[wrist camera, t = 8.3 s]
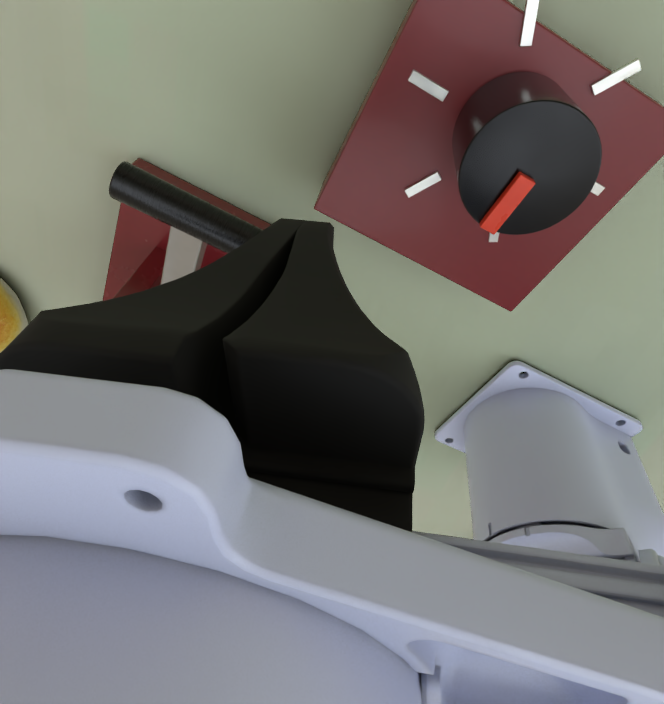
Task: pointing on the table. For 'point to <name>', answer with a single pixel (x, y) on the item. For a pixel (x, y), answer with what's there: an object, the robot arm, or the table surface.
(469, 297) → the table surface
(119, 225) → the red lever base
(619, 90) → the panel
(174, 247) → the toaster lever
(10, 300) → the bread roll
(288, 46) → the table surface
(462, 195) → the knob
